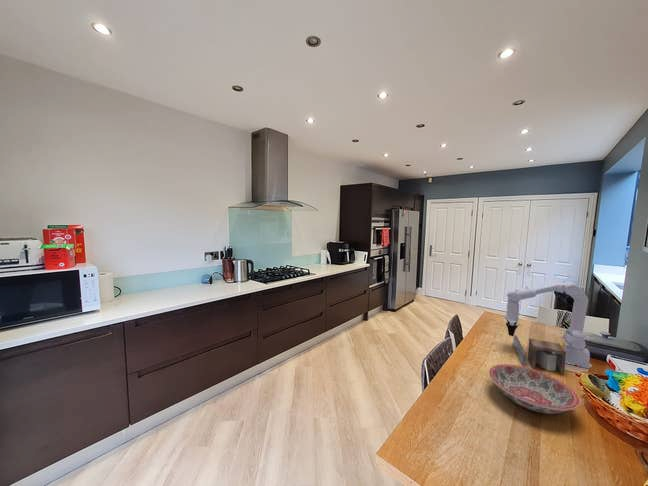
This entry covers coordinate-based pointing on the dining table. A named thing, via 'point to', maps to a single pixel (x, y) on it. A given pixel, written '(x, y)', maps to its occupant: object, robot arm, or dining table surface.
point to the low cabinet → (548, 347)
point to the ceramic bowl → (534, 389)
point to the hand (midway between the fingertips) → (511, 333)
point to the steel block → (519, 350)
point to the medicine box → (546, 360)
